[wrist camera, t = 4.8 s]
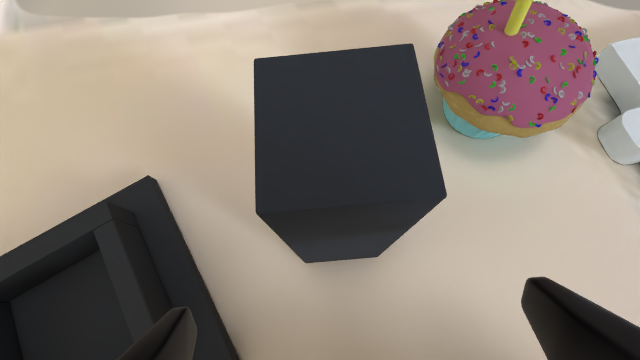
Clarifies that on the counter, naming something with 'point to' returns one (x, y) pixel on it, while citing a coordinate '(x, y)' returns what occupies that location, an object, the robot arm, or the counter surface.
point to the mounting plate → (622, 99)
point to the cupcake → (513, 69)
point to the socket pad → (104, 283)
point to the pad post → (343, 150)
